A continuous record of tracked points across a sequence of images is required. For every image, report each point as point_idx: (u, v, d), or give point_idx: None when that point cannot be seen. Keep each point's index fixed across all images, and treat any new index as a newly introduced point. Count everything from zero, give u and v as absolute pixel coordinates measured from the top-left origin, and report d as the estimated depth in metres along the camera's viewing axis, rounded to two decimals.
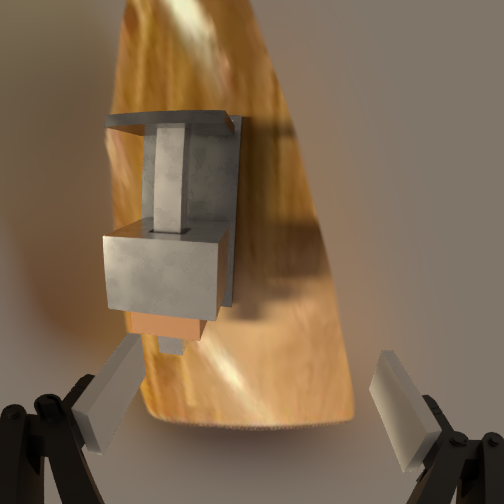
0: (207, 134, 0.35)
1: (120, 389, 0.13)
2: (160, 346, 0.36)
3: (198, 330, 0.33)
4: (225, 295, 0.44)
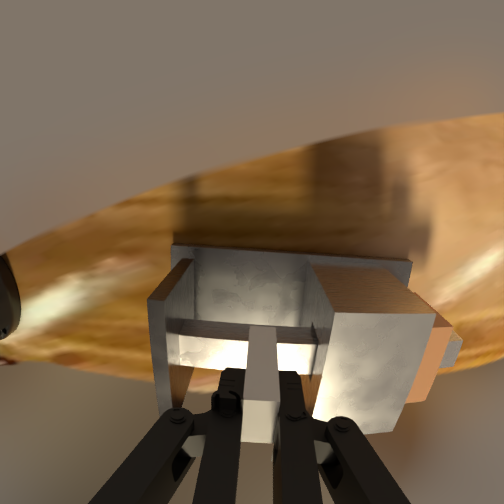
0: (192, 292, 0.29)
1: None
2: (447, 365, 0.25)
3: (441, 328, 0.22)
4: (398, 269, 0.32)
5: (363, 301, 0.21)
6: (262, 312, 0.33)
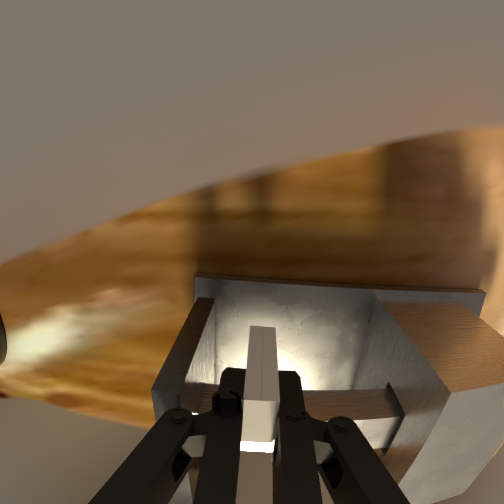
0: (213, 343, 0.21)
1: None
2: None
3: None
4: (471, 302, 0.23)
5: (470, 365, 0.13)
6: (313, 361, 0.25)
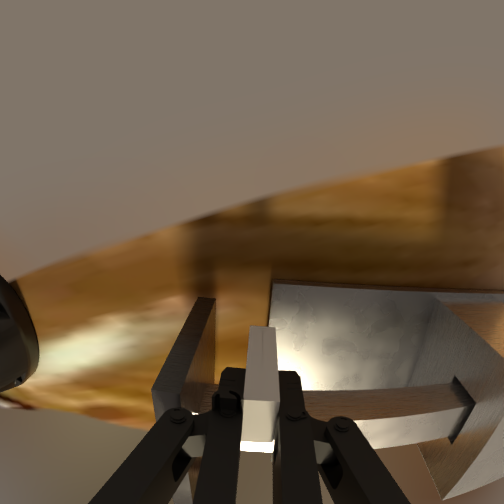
0: (213, 343, 0.21)
1: None
2: None
3: None
4: None
5: None
6: (378, 361, 0.25)
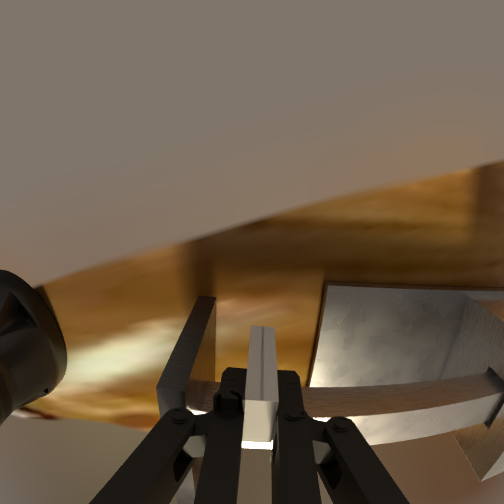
0: (214, 342, 0.21)
1: None
2: None
3: None
4: None
5: None
6: (416, 357, 0.25)
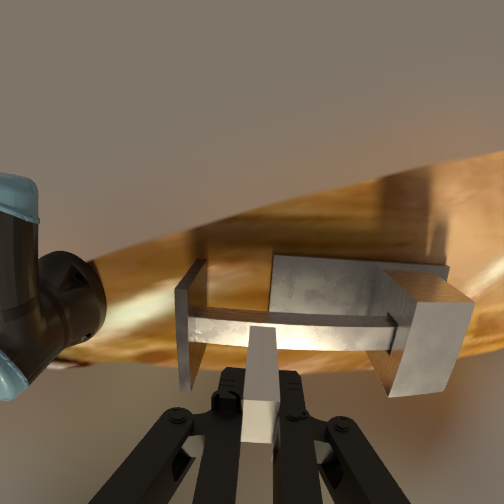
0: (205, 286, 0.38)
1: None
2: None
3: None
4: (439, 272, 0.39)
5: (429, 295, 0.29)
6: (342, 307, 0.41)
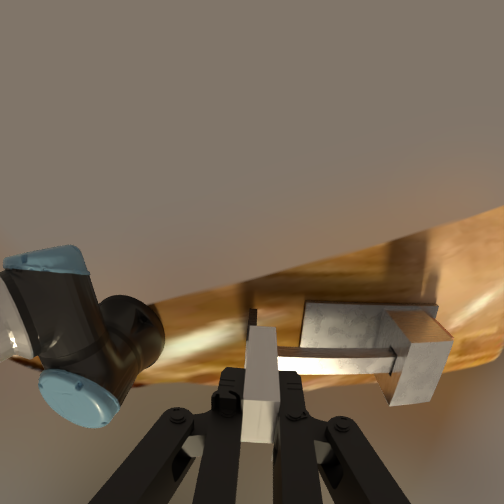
0: None
1: None
2: None
3: None
4: (430, 310, 0.51)
5: (420, 335, 0.41)
6: (355, 338, 0.52)
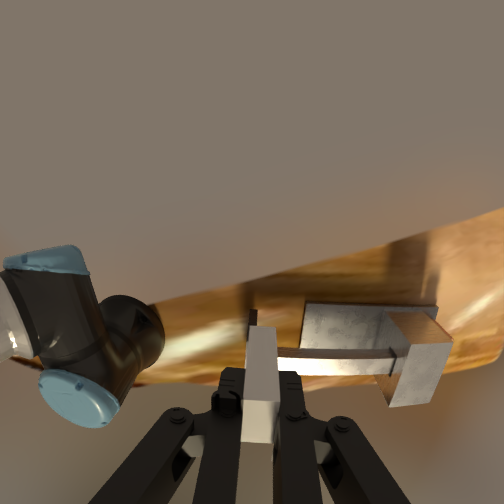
0: None
1: None
2: None
3: None
4: (430, 311, 0.51)
5: (420, 337, 0.41)
6: (355, 339, 0.52)
